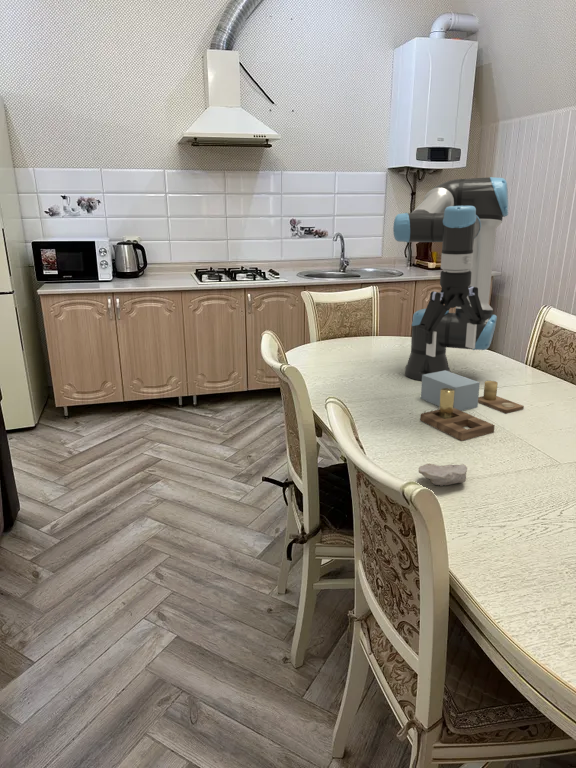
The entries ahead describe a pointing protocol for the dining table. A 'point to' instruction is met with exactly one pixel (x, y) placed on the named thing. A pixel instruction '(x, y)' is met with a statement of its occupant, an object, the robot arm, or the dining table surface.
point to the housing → (462, 386)
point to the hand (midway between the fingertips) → (450, 351)
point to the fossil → (444, 473)
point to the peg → (446, 403)
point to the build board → (458, 424)
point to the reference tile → (497, 399)
